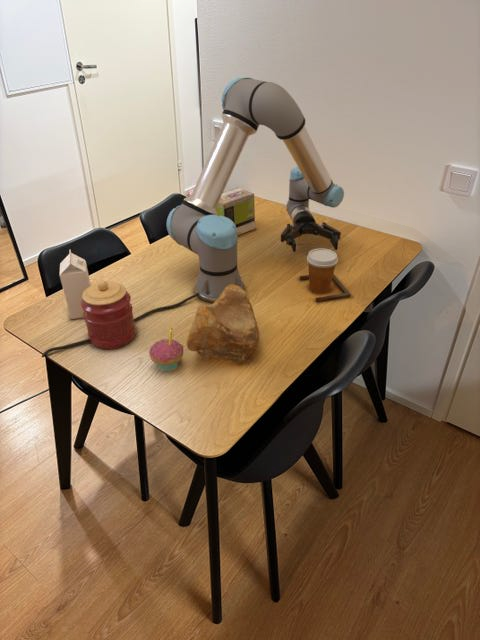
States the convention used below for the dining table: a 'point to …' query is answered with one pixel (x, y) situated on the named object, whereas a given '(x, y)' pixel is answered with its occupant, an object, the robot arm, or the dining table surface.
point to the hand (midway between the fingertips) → (315, 247)
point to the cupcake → (166, 353)
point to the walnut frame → (332, 297)
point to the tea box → (238, 209)
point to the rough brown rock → (225, 327)
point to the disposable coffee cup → (321, 269)
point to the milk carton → (74, 283)
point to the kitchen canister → (108, 314)
